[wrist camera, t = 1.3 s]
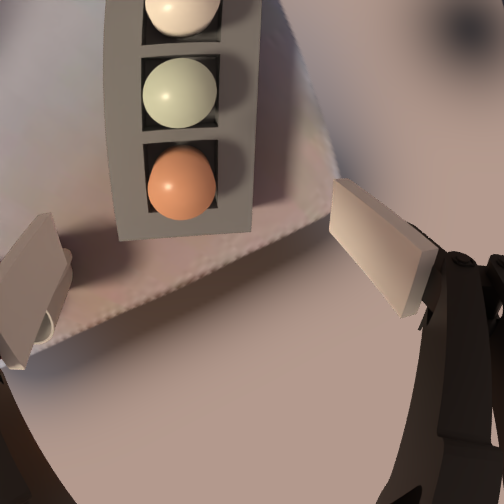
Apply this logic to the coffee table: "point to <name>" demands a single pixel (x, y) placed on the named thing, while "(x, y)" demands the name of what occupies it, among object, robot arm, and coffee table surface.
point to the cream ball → (181, 16)
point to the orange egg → (181, 183)
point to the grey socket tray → (198, 135)
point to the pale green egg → (179, 93)
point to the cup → (56, 303)
